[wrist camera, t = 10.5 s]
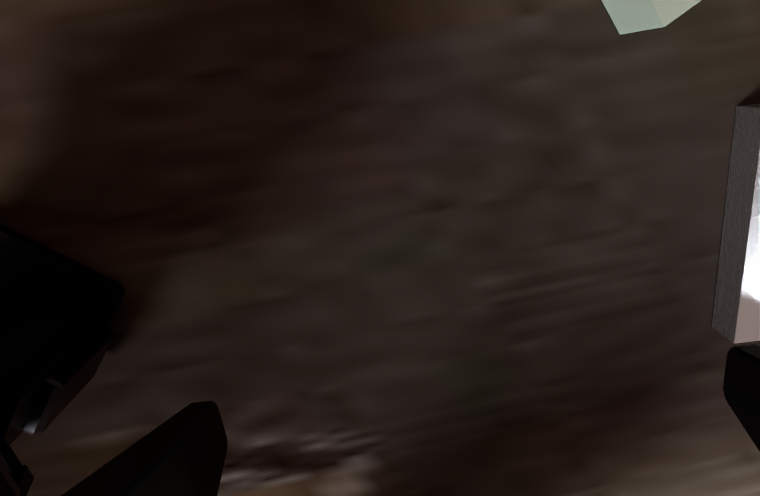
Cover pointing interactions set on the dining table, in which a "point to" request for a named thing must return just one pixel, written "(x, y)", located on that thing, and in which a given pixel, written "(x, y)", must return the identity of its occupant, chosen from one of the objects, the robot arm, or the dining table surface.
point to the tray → (645, 13)
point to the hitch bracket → (741, 236)
